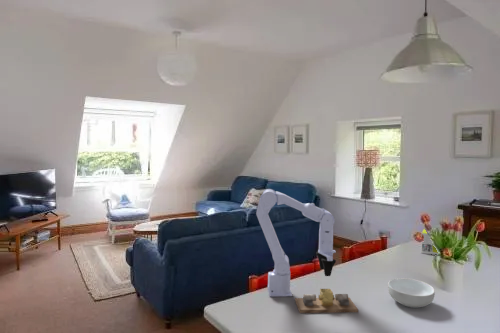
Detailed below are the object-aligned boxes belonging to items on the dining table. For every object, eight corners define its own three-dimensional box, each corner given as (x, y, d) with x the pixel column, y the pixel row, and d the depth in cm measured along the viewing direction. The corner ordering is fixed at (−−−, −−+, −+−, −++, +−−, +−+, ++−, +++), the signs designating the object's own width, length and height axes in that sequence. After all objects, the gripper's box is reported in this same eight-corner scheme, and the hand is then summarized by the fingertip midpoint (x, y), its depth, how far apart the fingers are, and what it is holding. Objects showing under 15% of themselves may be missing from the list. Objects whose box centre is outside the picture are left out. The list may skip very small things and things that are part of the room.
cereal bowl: (378, 298, 145) (378, 281, 145) (408, 291, 152) (409, 275, 151) (412, 316, 130) (412, 298, 129) (444, 308, 136) (444, 290, 136)
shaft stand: (299, 312, 132) (299, 300, 132) (295, 301, 142) (295, 289, 142) (357, 312, 133) (358, 299, 132) (349, 300, 143) (349, 288, 142)
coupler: (320, 305, 135) (320, 293, 135) (317, 301, 139) (318, 288, 139) (334, 305, 135) (335, 292, 135) (331, 301, 139) (332, 288, 139)
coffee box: (445, 256, 200) (445, 235, 199) (420, 253, 206) (421, 232, 205) (445, 251, 211) (446, 230, 210) (422, 248, 217) (423, 228, 216)
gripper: (340, 245, 140) (339, 278, 141) (330, 235, 154) (330, 266, 155) (322, 245, 140) (322, 279, 140) (314, 235, 154) (314, 266, 155)
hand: (325, 272), depth 148 cm, fingers open, 7 cm apart
